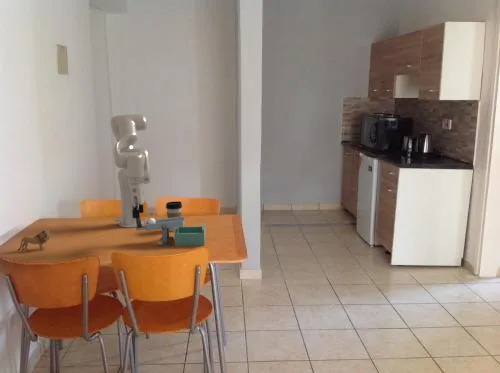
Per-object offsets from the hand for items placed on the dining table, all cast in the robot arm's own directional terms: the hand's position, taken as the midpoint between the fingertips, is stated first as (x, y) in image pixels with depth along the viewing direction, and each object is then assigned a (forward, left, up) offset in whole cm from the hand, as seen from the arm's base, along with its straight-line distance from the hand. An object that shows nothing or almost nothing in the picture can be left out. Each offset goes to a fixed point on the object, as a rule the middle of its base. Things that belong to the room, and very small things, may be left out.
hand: (138, 215), depth 228 cm
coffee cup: (+15, +21, -14) cm, 29 cm away
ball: (+6, +1, -4) cm, 7 cm away
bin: (+25, +1, -14) cm, 28 cm away
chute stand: (+13, +1, -14) cm, 19 cm away
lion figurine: (-47, -7, -14) cm, 50 cm away
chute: (+10, +1, -6) cm, 12 cm away
